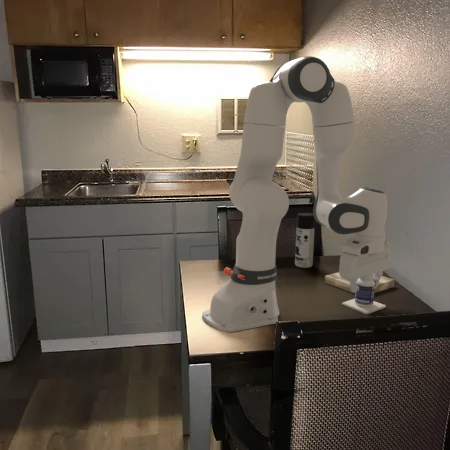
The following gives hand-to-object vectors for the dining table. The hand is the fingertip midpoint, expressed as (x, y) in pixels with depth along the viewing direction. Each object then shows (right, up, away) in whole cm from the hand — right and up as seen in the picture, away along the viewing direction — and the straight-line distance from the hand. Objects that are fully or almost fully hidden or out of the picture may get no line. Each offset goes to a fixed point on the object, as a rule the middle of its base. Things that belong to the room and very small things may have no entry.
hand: (365, 288), depth 140 cm
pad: (0, -5, +1) cm, 6 cm away
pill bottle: (0, -5, +1) cm, 5 cm away
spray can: (-11, +3, +40) cm, 42 cm away
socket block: (+4, -1, +20) cm, 20 cm away
